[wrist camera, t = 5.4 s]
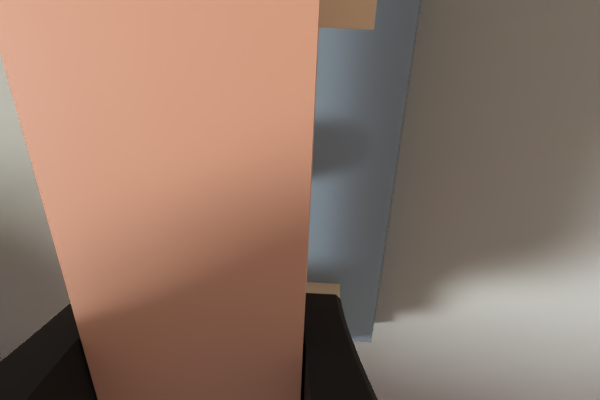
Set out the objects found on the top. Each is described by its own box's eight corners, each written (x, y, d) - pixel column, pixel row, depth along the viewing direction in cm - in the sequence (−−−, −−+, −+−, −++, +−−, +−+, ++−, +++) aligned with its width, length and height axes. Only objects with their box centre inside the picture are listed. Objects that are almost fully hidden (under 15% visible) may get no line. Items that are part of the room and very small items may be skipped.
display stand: (369, 324, 21) (377, 405, 18) (161, 313, 21) (129, 390, 18) (430, -119, 13) (468, -127, 10) (92, -131, 13) (11, -142, 10)
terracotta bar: (300, 412, 16) (291, 593, 12) (195, 406, 16) (149, 583, 12) (323, -68, 9) (321, -40, 5) (135, -75, 9) (-29, -54, 5)
